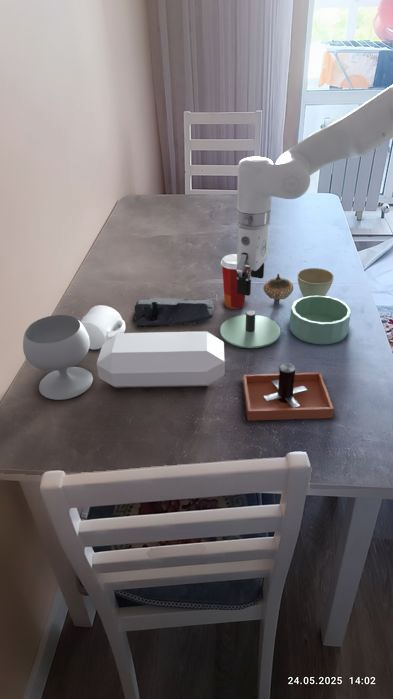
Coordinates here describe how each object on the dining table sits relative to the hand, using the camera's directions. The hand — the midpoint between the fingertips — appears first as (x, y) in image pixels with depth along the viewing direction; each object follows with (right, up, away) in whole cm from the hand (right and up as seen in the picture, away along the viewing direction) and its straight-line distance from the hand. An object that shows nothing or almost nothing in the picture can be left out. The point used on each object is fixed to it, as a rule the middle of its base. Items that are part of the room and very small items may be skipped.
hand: (250, 285), depth 118 cm
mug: (-37, -13, +8) cm, 40 cm away
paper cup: (-2, -3, +21) cm, 22 cm away
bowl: (+19, -10, +9) cm, 23 cm away
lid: (+1, -11, +8) cm, 13 cm away
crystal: (-21, -22, -6) cm, 31 cm away
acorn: (+10, -3, +20) cm, 22 cm away
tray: (+6, -26, -14) cm, 31 cm away
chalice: (-43, -24, -7) cm, 50 cm away
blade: (+6, -26, -15) cm, 30 cm away
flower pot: (+21, -1, +23) cm, 31 cm away
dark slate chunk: (-19, -6, +18) cm, 27 cm away
